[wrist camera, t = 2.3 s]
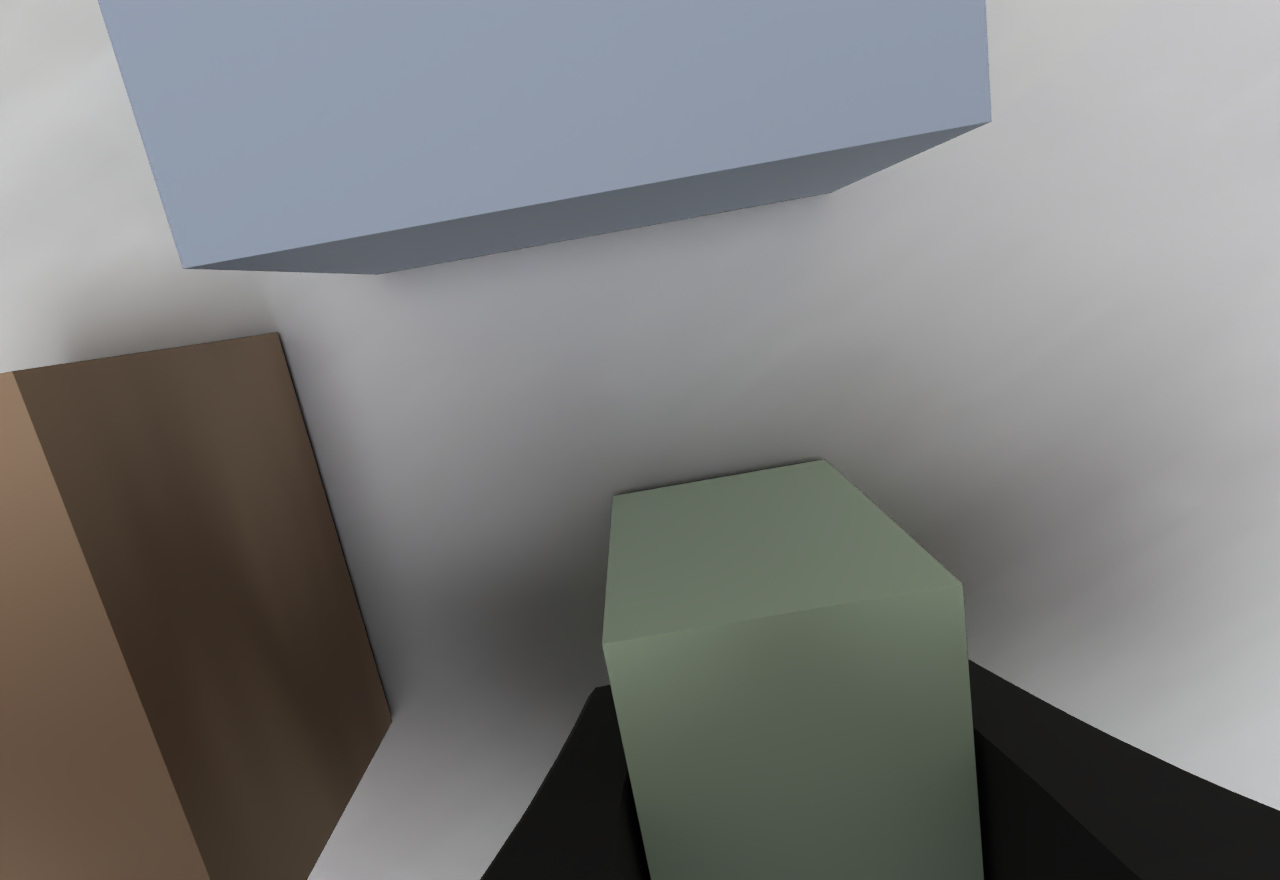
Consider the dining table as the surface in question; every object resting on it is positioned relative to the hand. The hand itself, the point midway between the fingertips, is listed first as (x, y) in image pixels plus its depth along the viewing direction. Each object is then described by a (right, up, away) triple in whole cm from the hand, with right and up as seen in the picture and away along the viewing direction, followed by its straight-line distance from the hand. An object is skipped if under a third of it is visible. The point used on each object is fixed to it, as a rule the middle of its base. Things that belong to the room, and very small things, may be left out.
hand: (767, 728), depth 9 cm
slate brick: (-2, +8, 0) cm, 8 cm away
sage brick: (0, 0, +1) cm, 1 cm away
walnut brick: (-7, +2, +1) cm, 8 cm away
